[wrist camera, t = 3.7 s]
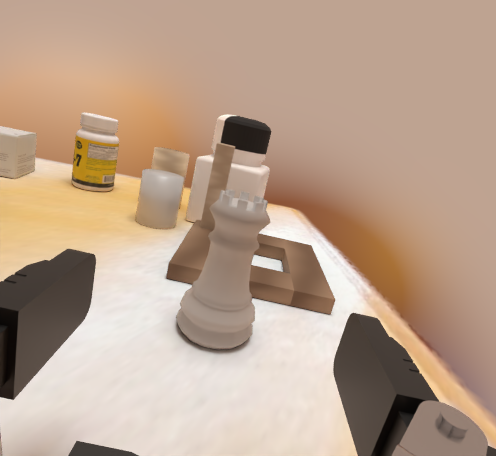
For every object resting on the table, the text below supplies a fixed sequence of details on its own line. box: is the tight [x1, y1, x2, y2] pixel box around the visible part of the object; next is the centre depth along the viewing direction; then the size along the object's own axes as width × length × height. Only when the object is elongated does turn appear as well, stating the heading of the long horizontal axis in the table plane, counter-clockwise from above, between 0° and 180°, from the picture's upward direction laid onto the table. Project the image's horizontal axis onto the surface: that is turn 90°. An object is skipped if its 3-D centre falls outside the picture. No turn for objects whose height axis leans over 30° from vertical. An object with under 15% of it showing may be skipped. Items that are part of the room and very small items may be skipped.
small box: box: [0, 126, 37, 179], centre depth 41 cm, size 6×6×5 cm
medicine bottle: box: [186, 115, 271, 223], centre depth 41 cm, size 7×7×12 cm
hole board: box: [166, 142, 335, 314], centre depth 30 cm, size 12×12×9 cm
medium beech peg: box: [151, 147, 189, 210], centre depth 43 cm, size 4×4×6 cm
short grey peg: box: [135, 169, 184, 229], centre depth 36 cm, size 4×4×5 cm
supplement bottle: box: [72, 113, 119, 192], centre depth 43 cm, size 5×5×8 cm
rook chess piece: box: [176, 189, 270, 350], centre depth 20 cm, size 4×4×8 cm
